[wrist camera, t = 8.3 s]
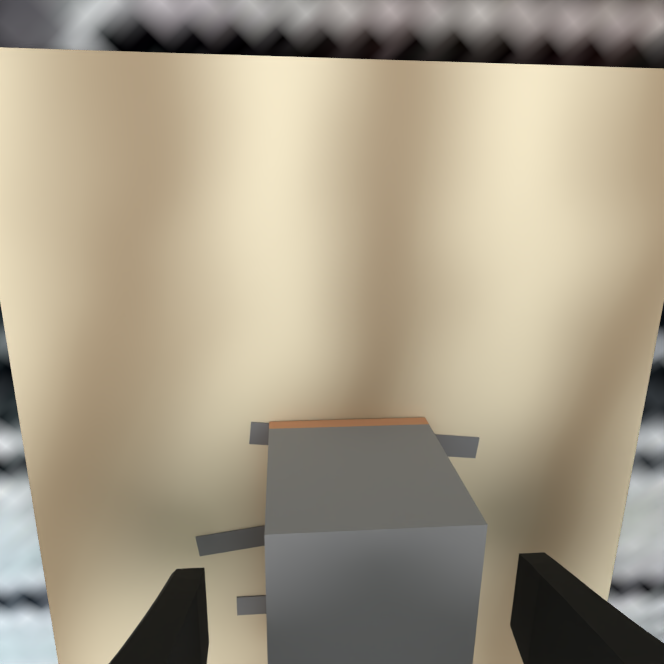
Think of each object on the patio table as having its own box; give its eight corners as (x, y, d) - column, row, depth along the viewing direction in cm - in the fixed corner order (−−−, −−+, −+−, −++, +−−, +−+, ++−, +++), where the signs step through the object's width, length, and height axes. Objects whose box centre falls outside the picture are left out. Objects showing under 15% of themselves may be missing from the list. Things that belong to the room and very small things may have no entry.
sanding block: (424, 417, 14) (487, 524, 10) (410, 635, 16) (457, 803, 12) (269, 421, 14) (264, 535, 10) (273, 644, 16) (271, 820, 12)
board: (662, 80, 14) (708, 69, 12) (539, 814, 21) (559, 863, 20) (-4, 60, 12) (-42, 45, 11) (111, 855, 20) (97, 910, 18)
